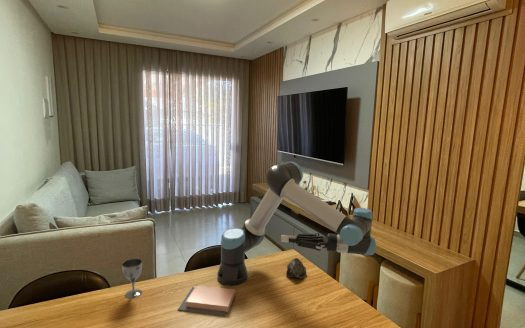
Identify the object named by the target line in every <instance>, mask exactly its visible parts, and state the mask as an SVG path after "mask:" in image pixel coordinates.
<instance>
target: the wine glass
mask: <svg viewBox="0 0 525 328" xmlns="http://www.w3.org/2000/svg"><path fill="white" fill-rule="evenodd" d="M121 268H122V273H123V276H124V278H125V279H127V280H129V282H130V283H131V288H132V289H131V290H129V291H128V290H127V292H125V294H124V297H125V298H126V299H129V300H132V299H136V298H138V297H140V296H141V295H142V294H143V290H141V289H139V288H135V282H136V280H137V279H138V278H139V277H140V276H141V273H142V270H143V261H142V259H141V258H129V259H126V260H124V261H123V262H122V264H121Z"/></svg>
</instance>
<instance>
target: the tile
mask: <svg viewBox="0 0 525 328" xmlns="http://www.w3.org/2000/svg"><path fill="white" fill-rule="evenodd" d="M194 287H195V288H194V290H193V291H192V293H191V294H190V296H189V298H188V299H187V301H186V307H193V308H201V309H209V310H217V311H225V312H226V313H228V312H229V310H230V308H231V305H232V302H233V300H234V297H235V294H236V290H235V289H232V288H223V287H216V286H215V287H214V286H207V285H199V284H198V285H195V286H194Z"/></svg>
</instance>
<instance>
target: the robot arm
mask: <svg viewBox="0 0 525 328" xmlns="http://www.w3.org/2000/svg"><path fill="white" fill-rule="evenodd" d="M303 177H304V173H303V170H302V167H301V166H300V165H299V164H298V163H296V162H294V161H286V162H283V163H279V164H274V165H272V166H270V167H269V168H268V169H267V171H266V173H265V176H264V178H265V183H266V185H267V187H268V189H267V191H266V192H265V194H264V195H263V197H262V199H261V201H260V202H259V204H258V205H257V206H256V207H257V208H256V209H255V211H254V213H253V214H252V216H251V218H247V219H246V220H245V221H244V224H243V225H242V227H241V228H229V229H227V230H225V231H224V232H223V233H222V234H221V239H220V264H219V267H218V270H217V277H216V278H217V281H218V282H219V283H222V284H223V285H227V286H235V285H236V286H237V285H240V284H242V283H244V282H246V281H247V279H248V274H249V273H248V269H247V266H246V263H245V254H246V253H247V252H249V251H250V250H252V249H253V248H256V247H257V246H259V245H260V244H261V243H262V242H263V241H264V239H265V235H266V233H265V232H266V226H267V224H268V223H269V222H270V220H271V218H272V216H273V215H275V212H276V211H277V209H278V208H279V206H280V204H281V203H282V201H283V199H286V200H288V201H289V202H291V203H292V204H294V205H295V206H296V207H298V208H299V209H301V210H302V211H304V212H305V213H307V214H308V215H310V216H312V217H313V218H314V219H316V220H317V221H319V222H321V224H323V225H325V226H326V227H327V228H329V229H330V230H331V231H334V232H335V233H330V232H329V233H327V235H326V236H325V235H320V233H319V232H316V233H298V234H297V235H290V234H289V235H288V234H281V235H280V237H281V238H280V242H281V243H290V244H296V245H297V247H301V248H307V249H311V250H315V251H317V252H321V250H322V249H326V251H327V252H330V253H336V252H337V253H342V254H351V255H362V256H373V255H375V253H376V249H377V246H376V244H377V243H376V239H375V238H374V237H373V236H372V235H371V233H372V223H373V219H374V218H373V211H372V210H370V209H369V208H366V207H356V208H354V210H353V213H352V218H351V217H348V216H347V215H346V214H344V213H342V212H341V211H339V210H338V209H336V208H334V207H333V206H332V205H330V204H328V203H327V202H326V201H324V200H322V199H321V198H319V197H317V196H316V195H315V194H313V193H312V192H310V191H309V190H307V189H305V188H303V187H302V186H300V185H299V184H300V183H301V182H302V180H303Z"/></svg>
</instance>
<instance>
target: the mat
mask: <svg viewBox="0 0 525 328" xmlns="http://www.w3.org/2000/svg"><path fill="white" fill-rule="evenodd" d="M195 287H196V286H193V287H191V289H190V290H189V292H188V293H187V295H186V296H185V297H184V299H183V301H182V302H181V303H180V306H179V307H178V308H177V311H180V312H187V313H196V314H204V315H211V316H219V317H220V316H221V317H225V316H226V315H227V312H225V311H217V310H209V309H201V308H193V307H186V301H187V299H188V298H189V296H190V294H191V293H192V291H193V290H194V288H195Z"/></svg>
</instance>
